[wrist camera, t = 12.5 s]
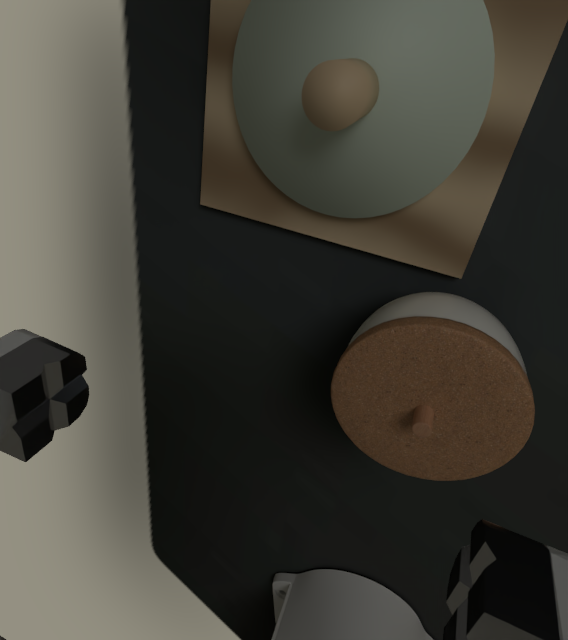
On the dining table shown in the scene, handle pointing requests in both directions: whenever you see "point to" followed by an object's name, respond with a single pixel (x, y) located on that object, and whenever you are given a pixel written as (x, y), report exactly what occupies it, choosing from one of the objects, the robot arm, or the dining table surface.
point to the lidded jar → (434, 389)
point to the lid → (361, 97)
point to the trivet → (430, 211)
